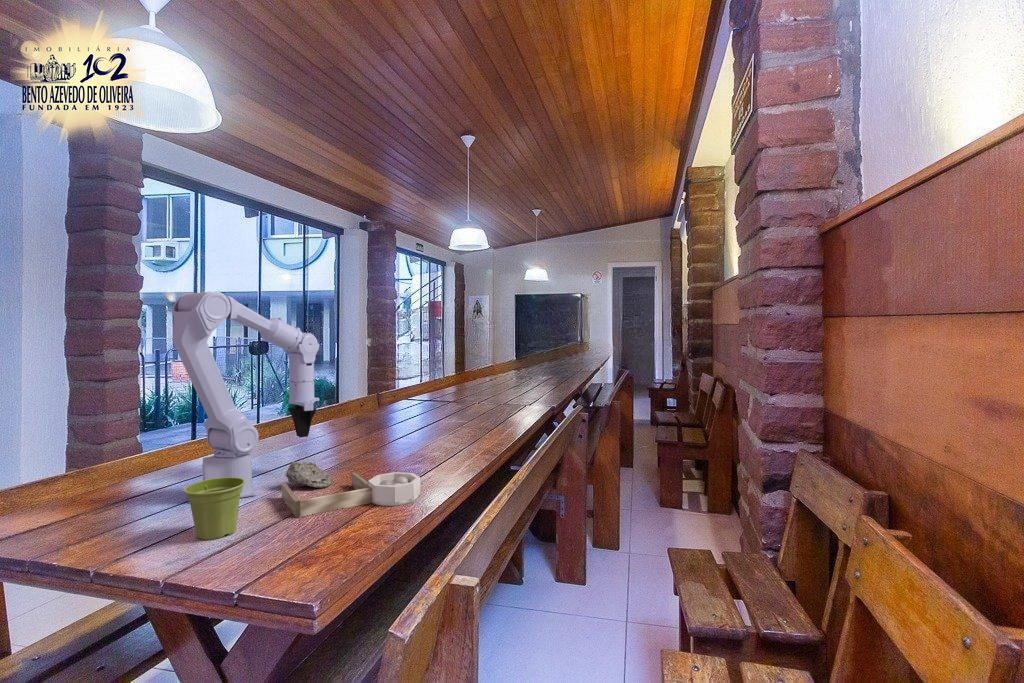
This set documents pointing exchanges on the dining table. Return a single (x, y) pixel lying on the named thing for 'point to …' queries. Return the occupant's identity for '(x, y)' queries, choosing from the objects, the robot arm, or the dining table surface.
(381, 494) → the bowl
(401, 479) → the pebble
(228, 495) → the plant pot
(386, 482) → the pebble
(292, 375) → the robot arm
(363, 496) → the tray frame
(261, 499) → the dining table surface
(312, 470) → the rock sample
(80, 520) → the dining table surface
